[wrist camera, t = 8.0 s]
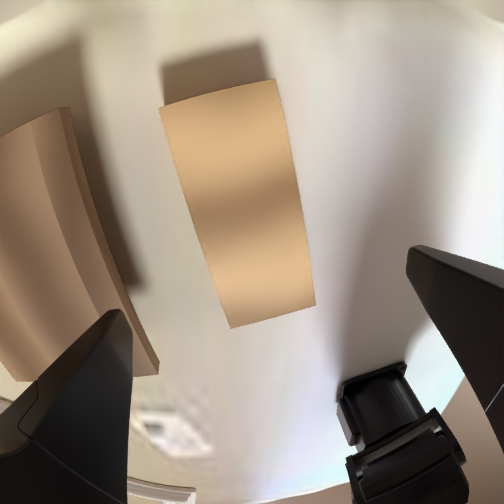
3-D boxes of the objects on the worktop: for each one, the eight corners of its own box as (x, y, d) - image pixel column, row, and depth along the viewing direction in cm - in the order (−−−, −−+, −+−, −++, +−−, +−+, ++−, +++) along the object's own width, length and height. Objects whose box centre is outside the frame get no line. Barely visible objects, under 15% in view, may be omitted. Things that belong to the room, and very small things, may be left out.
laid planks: (92, 105, 12) (59, 107, 9) (163, 330, 19) (158, 374, 15) (-45, 176, 11) (-81, 195, 8) (33, 346, 18) (16, 381, 15)
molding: (-41, 386, 21) (-49, 402, 18) (-26, 357, 19) (-37, 376, 16) (179, 505, 40) (179, 517, 37) (230, 495, 37) (232, 509, 35)
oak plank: (304, 282, 19) (316, 305, 17) (227, 303, 19) (230, 328, 17) (265, 82, 13) (275, 78, 11) (165, 107, 13) (158, 107, 11)
